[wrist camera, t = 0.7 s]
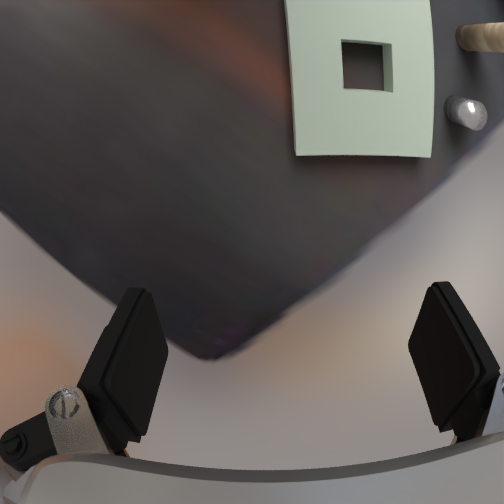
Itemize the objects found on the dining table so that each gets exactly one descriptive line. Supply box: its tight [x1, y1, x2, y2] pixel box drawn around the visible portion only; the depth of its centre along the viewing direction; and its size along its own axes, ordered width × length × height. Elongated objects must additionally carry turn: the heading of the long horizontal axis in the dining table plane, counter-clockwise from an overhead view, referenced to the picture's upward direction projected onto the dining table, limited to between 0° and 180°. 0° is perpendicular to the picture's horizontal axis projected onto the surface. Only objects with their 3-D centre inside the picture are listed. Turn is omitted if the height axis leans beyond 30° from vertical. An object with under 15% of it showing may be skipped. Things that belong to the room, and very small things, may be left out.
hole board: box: [284, 0, 434, 158], centre depth 28 cm, size 20×16×3 cm
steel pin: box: [444, 96, 487, 131], centre depth 28 cm, size 4×4×5 cm
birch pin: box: [456, 23, 504, 53], centre depth 20 cm, size 4×4×12 cm
